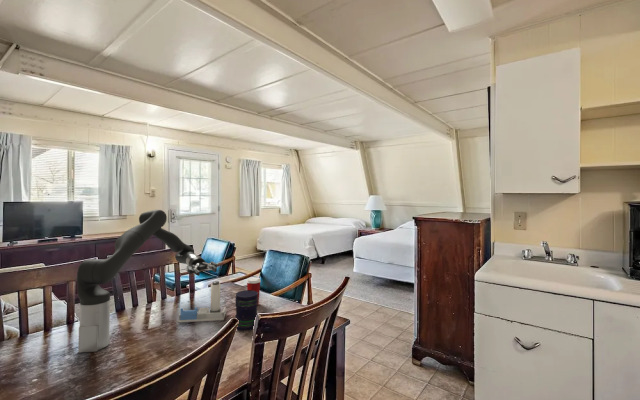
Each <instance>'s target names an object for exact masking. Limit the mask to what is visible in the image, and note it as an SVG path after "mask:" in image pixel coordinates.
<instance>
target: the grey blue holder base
mask: <svg viewBox="0 0 640 400" xmlns="http://www.w3.org/2000/svg"><path fill="white" fill-rule="evenodd" d="M226 313H227V307H226V306H223V309H222V311H221V312H217V313H210V307H200V308H199V310H198V307H197V306H196V307H194V309H189V310H186V309H185V308H184V307H180V312H179V314H178V323H191V322H192V323H193V322H210V321H213V322H214V321H224V320H225V317H226Z"/></svg>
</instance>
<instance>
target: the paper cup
mask: <svg viewBox="0 0 640 400" xmlns="http://www.w3.org/2000/svg"><path fill="white" fill-rule="evenodd" d="M245 281H246V289H247V290H253V291H256V292H258V295H257V296H258V305H259V303H260V302H259V301H260V291H261V282H262V281H261V278H260V277H248V278H247V280H245Z"/></svg>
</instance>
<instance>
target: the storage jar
mask: <svg viewBox="0 0 640 400" xmlns="http://www.w3.org/2000/svg"><path fill="white" fill-rule="evenodd" d="M257 295H258V292H256V291H253V290H240V291H238V292H235V318H237V319H238V320H239V324H238V327H237V330H236V331H239V332H250V331H252V330H254V329H253V326H254V320H255V317H256V315H257V316H258V306H259V304H258V296H257ZM257 305H258V306H257Z"/></svg>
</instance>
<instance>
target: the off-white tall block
mask: <svg viewBox="0 0 640 400" xmlns="http://www.w3.org/2000/svg"><path fill="white" fill-rule="evenodd" d="M209 312H210V313H217V312H222V311H221V283H220V281H218V280H216V281H212V283H211V284H210V308H209Z"/></svg>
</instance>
